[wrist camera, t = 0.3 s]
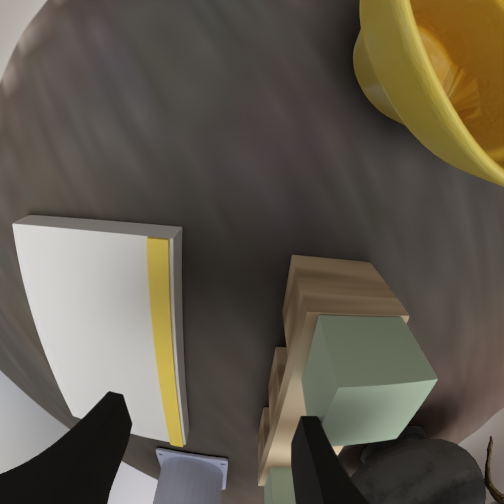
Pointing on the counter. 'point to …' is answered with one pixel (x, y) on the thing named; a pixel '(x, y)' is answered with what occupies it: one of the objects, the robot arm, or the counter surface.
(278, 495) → the block
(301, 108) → the counter surface
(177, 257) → the dock
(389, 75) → the plant pot
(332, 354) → the block
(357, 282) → the tan wooden bar
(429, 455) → the pitcher
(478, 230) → the counter surface
